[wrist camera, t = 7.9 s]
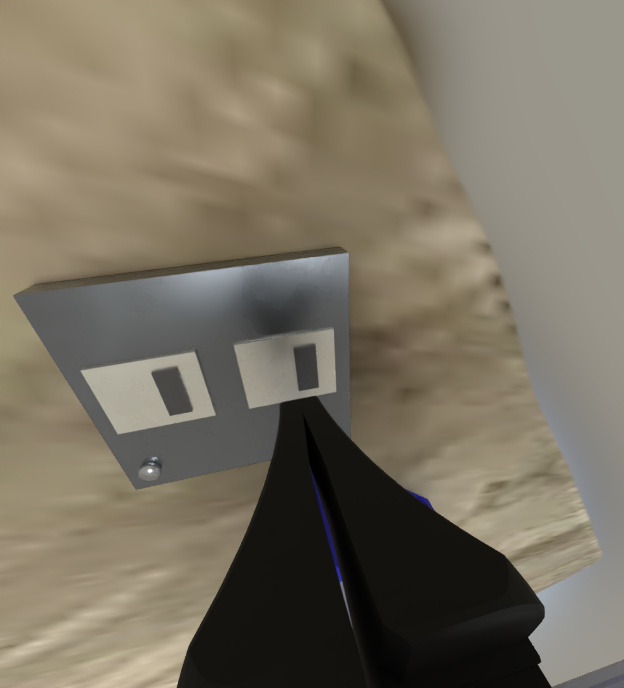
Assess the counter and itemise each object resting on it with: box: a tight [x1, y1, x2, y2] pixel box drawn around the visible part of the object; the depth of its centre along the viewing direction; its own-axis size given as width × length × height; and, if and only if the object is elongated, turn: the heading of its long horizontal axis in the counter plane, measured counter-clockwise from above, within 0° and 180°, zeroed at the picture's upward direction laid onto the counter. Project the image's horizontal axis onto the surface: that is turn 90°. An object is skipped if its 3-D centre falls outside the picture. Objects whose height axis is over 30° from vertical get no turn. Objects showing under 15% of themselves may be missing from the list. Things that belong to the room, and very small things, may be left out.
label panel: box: [13, 247, 351, 490], centre depth 14 cm, size 11×12×2 cm
